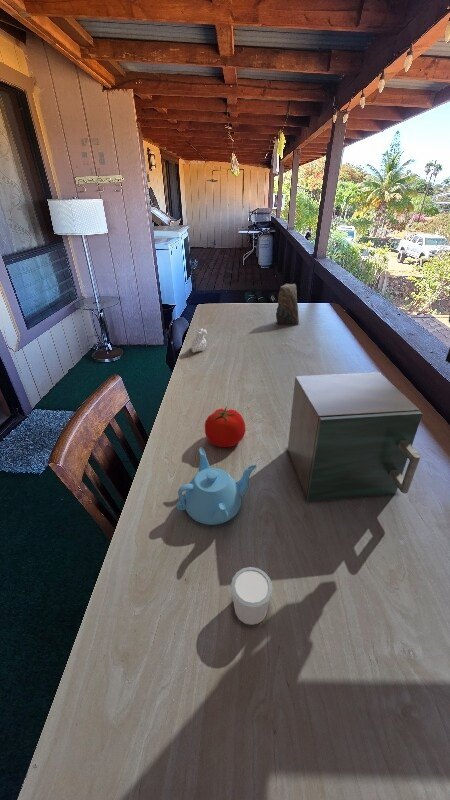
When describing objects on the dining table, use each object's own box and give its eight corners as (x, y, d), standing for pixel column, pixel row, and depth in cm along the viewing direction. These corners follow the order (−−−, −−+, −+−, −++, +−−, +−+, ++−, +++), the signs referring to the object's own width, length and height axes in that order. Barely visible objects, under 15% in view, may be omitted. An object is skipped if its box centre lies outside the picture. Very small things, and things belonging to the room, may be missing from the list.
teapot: (168, 515, 79) (164, 482, 74) (204, 475, 90) (202, 443, 85) (224, 543, 73) (224, 509, 68) (255, 495, 84) (257, 463, 79)
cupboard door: (408, 513, 79) (440, 429, 67) (315, 522, 77) (331, 437, 65) (393, 491, 85) (420, 410, 73) (306, 498, 83) (319, 417, 71)
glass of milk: (222, 608, 61) (222, 585, 58) (249, 582, 66) (250, 559, 62) (252, 639, 57) (253, 616, 54) (278, 609, 61) (281, 585, 58)
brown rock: (275, 325, 191) (277, 287, 180) (274, 318, 201) (276, 282, 191) (298, 325, 190) (302, 288, 179) (296, 318, 200) (300, 282, 190)
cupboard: (392, 491, 85) (419, 409, 73) (306, 498, 83) (318, 416, 71) (361, 445, 100) (379, 371, 88) (287, 450, 99) (295, 376, 86)
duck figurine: (196, 359, 157) (210, 341, 152) (183, 349, 156) (197, 330, 150) (203, 349, 167) (216, 332, 162) (190, 339, 166) (203, 322, 160)
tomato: (236, 426, 109) (236, 398, 104) (251, 448, 100) (252, 418, 94) (199, 435, 105) (197, 406, 100) (212, 458, 96) (210, 427, 91)
